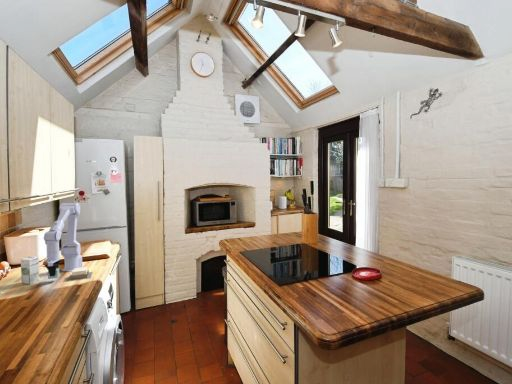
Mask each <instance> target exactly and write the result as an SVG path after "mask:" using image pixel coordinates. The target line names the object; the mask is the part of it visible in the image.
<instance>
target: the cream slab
mask: <svg viewBox="0 0 512 384" xmlns="http://www.w3.org/2000/svg"><path fill="white" fill-rule="evenodd" d="M88 270H89V267H88V266H83V267H82V268H74V270H73V271H71V275H72V276H74V275H82V274H86V273H87V271H88Z"/></svg>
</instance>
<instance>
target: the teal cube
mask: <svg viewBox="0 0 512 384" xmlns="http://www.w3.org/2000/svg"><path fill="white" fill-rule="evenodd" d="M59 276H60V268H59V267H58V268H56V274H55V276H51V277H50V274H49V271H48V270H47V279H48V280H50V279H58V278H59Z"/></svg>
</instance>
